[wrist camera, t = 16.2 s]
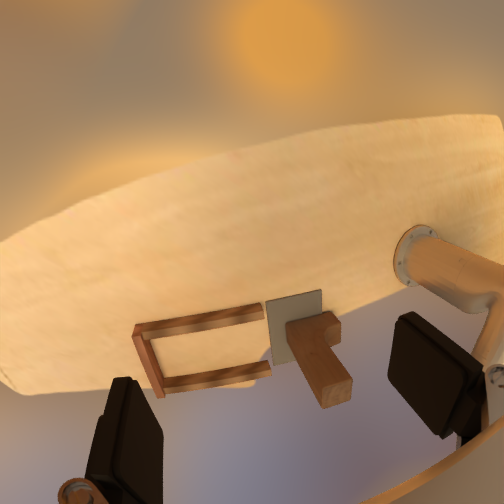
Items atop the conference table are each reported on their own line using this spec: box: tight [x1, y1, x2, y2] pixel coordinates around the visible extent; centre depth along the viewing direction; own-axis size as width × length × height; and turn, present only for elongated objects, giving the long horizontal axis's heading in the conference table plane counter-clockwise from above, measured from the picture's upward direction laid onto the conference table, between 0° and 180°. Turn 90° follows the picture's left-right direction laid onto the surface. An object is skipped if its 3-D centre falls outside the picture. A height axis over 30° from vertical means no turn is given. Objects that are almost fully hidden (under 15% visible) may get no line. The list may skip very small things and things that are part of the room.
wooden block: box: [285, 312, 353, 409], centre depth 43 cm, size 9×4×18 cm, turn 98°
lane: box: [132, 303, 272, 398], centre depth 48 cm, size 22×14×4 cm, turn 98°
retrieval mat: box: [265, 289, 322, 366], centre depth 52 cm, size 10×14×1 cm
